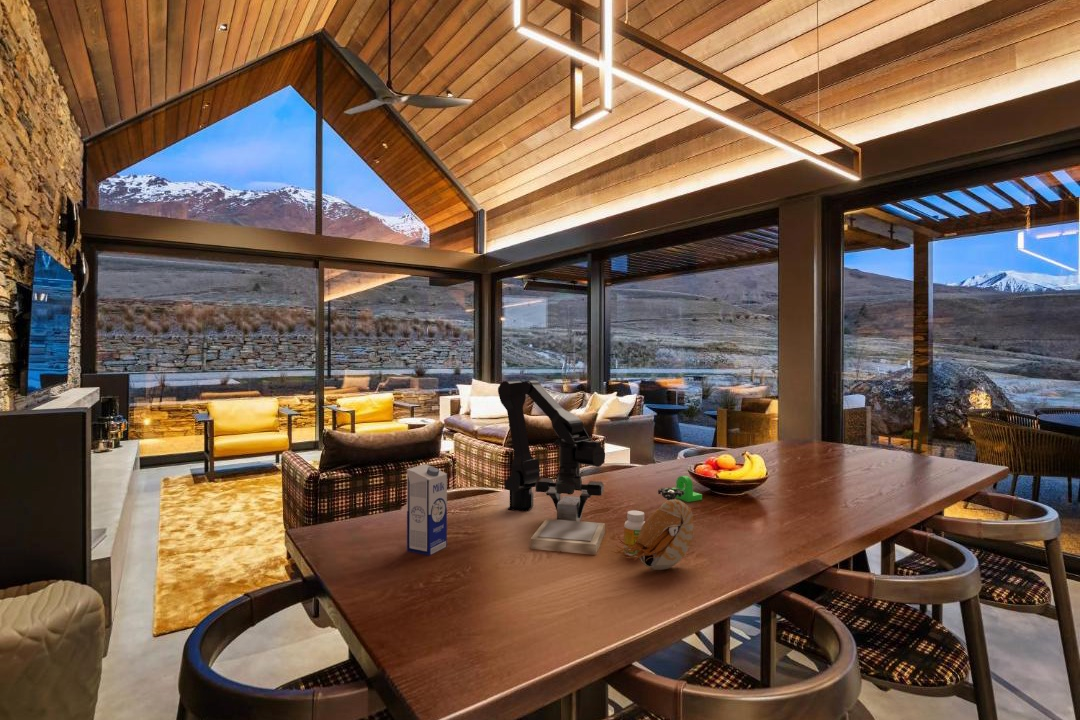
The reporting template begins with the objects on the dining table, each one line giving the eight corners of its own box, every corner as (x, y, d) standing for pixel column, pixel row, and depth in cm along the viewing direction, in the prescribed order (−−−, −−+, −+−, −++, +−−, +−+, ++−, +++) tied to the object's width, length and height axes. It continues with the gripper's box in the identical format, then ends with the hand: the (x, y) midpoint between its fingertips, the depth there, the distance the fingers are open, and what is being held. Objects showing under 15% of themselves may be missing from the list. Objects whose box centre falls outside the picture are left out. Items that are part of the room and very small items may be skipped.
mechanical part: (702, 500, 178) (702, 476, 178) (688, 502, 175) (688, 478, 175) (676, 492, 188) (676, 469, 188) (663, 494, 185) (663, 471, 185)
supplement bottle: (633, 559, 125) (633, 517, 125) (619, 551, 130) (619, 511, 130) (651, 555, 128) (652, 514, 128) (637, 548, 132) (637, 508, 132)
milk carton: (425, 543, 136) (425, 463, 135) (447, 547, 133) (447, 465, 133) (406, 552, 129) (406, 468, 129) (429, 556, 126) (429, 471, 126)
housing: (556, 525, 150) (557, 503, 150) (563, 515, 160) (564, 495, 160) (576, 527, 149) (576, 505, 149) (582, 516, 158) (582, 496, 158)
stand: (530, 549, 131) (530, 537, 131) (546, 527, 148) (546, 517, 148) (595, 555, 128) (595, 543, 128) (604, 532, 144) (604, 522, 144)
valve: (689, 537, 141) (689, 490, 141) (672, 542, 137) (672, 494, 137) (669, 530, 146) (669, 486, 146) (652, 535, 142) (652, 489, 142)
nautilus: (604, 574, 116) (604, 504, 116) (679, 557, 127) (679, 492, 127) (628, 588, 109) (628, 514, 109) (705, 568, 120) (705, 500, 120)
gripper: (530, 465, 148) (530, 522, 148) (598, 469, 144) (598, 528, 144) (540, 458, 159) (540, 511, 159) (603, 461, 155) (603, 516, 155)
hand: (569, 517), depth 154 cm, fingers closed on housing, 5 cm apart
